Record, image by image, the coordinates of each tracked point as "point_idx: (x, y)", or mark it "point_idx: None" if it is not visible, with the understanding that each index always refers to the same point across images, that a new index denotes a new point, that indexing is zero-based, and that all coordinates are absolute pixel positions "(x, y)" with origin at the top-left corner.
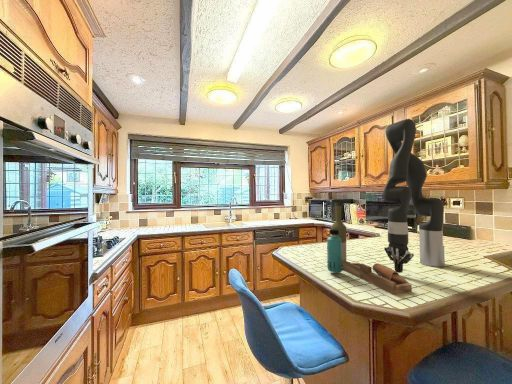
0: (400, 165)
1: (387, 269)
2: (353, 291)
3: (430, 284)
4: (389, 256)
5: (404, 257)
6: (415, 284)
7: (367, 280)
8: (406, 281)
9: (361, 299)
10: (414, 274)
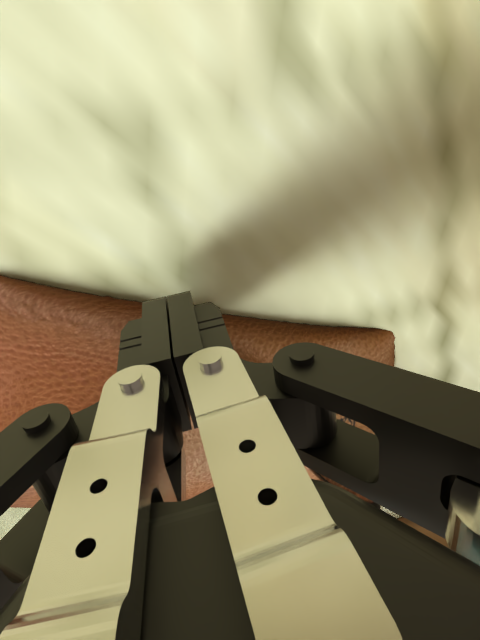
0: None
1: (210, 487)
2: None
3: (460, 123)
4: (33, 556)
5: (431, 523)
6: (407, 286)
7: None
8: (374, 357)
9: None
10: (113, 14)
